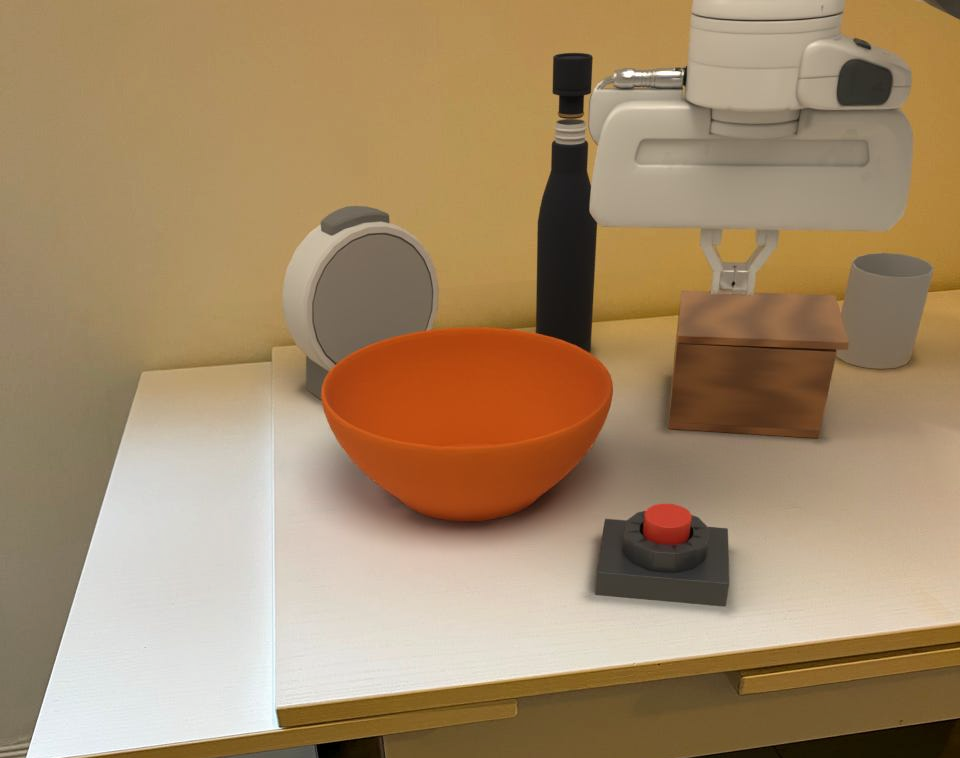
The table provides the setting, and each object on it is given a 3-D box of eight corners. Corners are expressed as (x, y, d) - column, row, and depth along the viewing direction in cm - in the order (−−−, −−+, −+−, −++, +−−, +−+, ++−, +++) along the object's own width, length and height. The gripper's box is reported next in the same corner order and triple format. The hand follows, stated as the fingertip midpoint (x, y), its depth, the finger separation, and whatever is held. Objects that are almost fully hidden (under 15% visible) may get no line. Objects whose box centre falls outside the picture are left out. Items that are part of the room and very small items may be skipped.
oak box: (808, 385, 107) (824, 304, 102) (818, 438, 97) (836, 352, 92) (671, 377, 109) (680, 298, 104) (668, 428, 100) (677, 344, 94)
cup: (899, 374, 109) (923, 282, 103) (824, 360, 112) (843, 270, 106) (917, 348, 114) (940, 259, 108) (845, 335, 118) (864, 248, 112)
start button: (689, 524, 79) (692, 504, 78) (688, 548, 76) (691, 529, 75) (643, 520, 79) (645, 501, 78) (641, 544, 76) (643, 525, 75)
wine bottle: (524, 352, 116) (526, 56, 97) (560, 336, 119) (569, 48, 101) (565, 367, 112) (576, 63, 93) (601, 350, 116) (619, 54, 97)
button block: (724, 550, 82) (731, 508, 80) (725, 607, 76) (732, 563, 73) (603, 540, 84) (606, 499, 81) (594, 595, 77) (597, 552, 75)
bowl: (305, 449, 98) (291, 350, 91) (539, 405, 104) (541, 311, 98) (377, 584, 79) (366, 473, 73) (656, 521, 86) (667, 414, 80)
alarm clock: (407, 352, 116) (396, 185, 105) (456, 380, 110) (450, 206, 98) (282, 387, 109) (257, 213, 98) (327, 420, 102) (305, 237, 91)
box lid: (834, 302, 101) (835, 294, 101) (847, 350, 92) (849, 341, 91) (680, 297, 104) (681, 289, 103) (677, 343, 94) (678, 335, 94)
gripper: (585, 77, 60) (578, 304, 69) (942, 75, 57) (888, 312, 66) (594, 60, 65) (586, 273, 74) (923, 56, 62) (875, 280, 70)
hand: (731, 292), depth 70 cm, fingers closed
